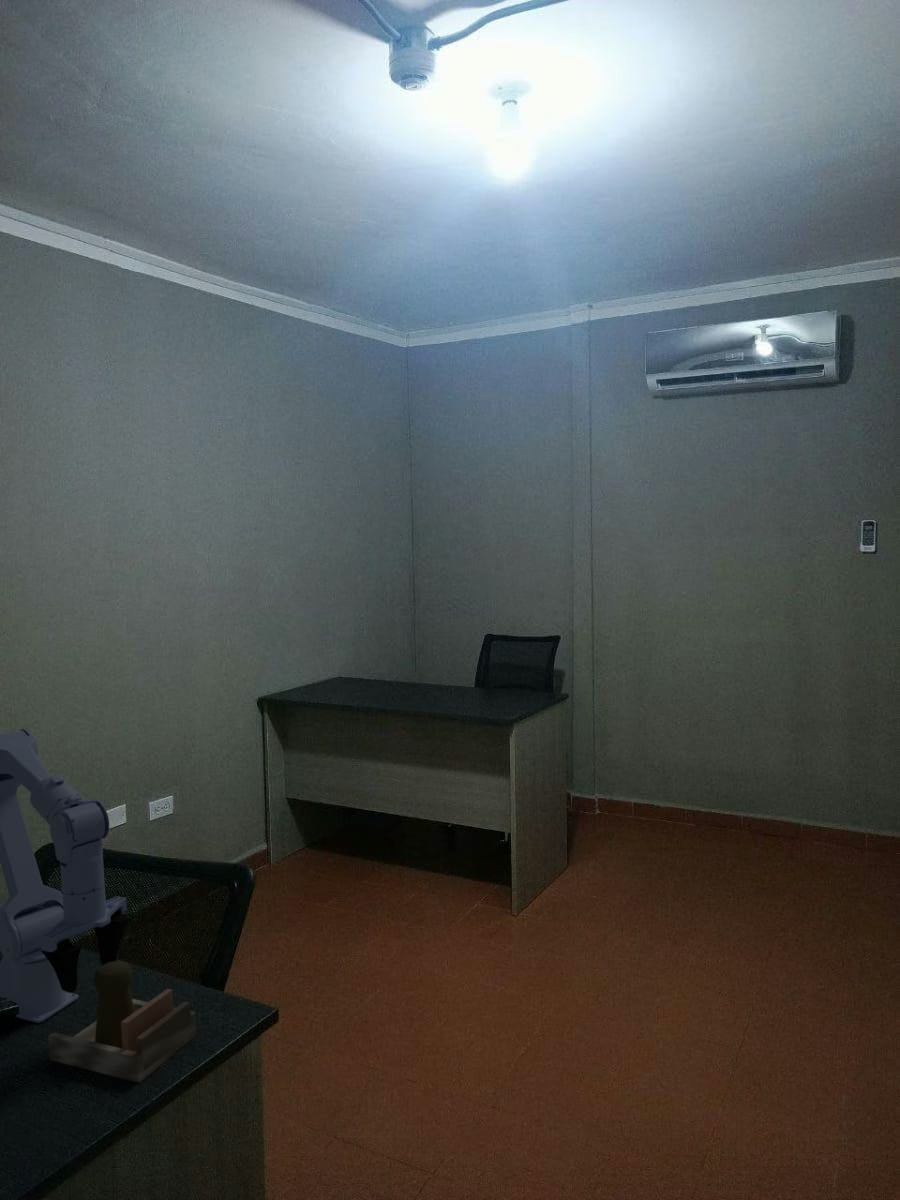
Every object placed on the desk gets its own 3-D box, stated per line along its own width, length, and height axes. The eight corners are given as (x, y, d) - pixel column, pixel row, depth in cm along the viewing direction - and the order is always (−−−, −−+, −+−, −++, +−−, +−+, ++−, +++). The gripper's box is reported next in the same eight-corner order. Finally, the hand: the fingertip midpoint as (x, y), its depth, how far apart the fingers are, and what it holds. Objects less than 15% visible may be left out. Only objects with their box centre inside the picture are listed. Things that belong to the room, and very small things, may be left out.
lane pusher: (123, 1063, 121) (120, 1021, 120) (169, 1027, 129) (167, 988, 129) (129, 1064, 120) (126, 1023, 120) (175, 1028, 129) (172, 989, 128)
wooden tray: (50, 1059, 124) (47, 1022, 124) (112, 1016, 135) (110, 981, 135) (139, 1082, 118) (136, 1043, 118) (196, 1035, 129) (194, 999, 129)
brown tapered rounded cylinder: (123, 1052, 123) (118, 977, 123) (85, 1048, 125) (80, 973, 124) (147, 1029, 129) (143, 956, 129) (111, 1025, 131) (106, 954, 130)
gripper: (65, 911, 119) (71, 1007, 120) (140, 872, 132) (145, 958, 133) (26, 904, 122) (33, 998, 123) (104, 866, 135) (109, 951, 136)
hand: (89, 977), depth 128 cm, fingers open, 7 cm apart
